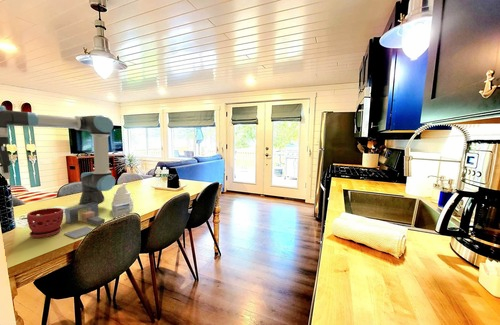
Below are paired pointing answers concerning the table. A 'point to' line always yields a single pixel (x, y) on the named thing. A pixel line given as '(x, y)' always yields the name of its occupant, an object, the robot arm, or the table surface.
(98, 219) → the bar
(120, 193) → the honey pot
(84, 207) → the block
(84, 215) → the tan block
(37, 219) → the plant pot
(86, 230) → the slate tile
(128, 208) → the medicine box
